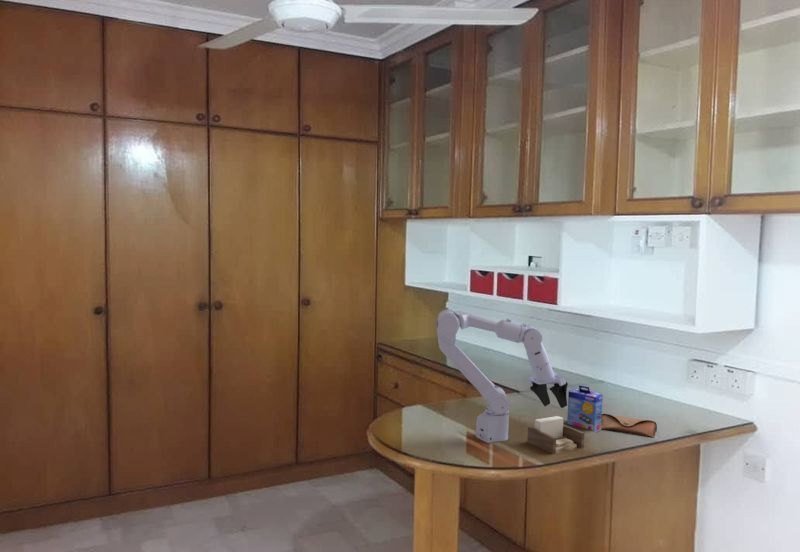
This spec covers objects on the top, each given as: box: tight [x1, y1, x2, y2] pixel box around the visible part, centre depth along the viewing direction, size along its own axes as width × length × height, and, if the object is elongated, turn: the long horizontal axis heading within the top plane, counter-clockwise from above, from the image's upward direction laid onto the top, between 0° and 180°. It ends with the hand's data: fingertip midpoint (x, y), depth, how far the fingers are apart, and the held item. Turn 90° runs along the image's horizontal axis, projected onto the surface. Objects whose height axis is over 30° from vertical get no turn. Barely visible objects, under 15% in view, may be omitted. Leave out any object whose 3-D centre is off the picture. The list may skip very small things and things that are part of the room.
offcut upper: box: [556, 438, 573, 447], centre depth 187 cm, size 6×3×1 cm, turn 119°
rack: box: [526, 423, 585, 455], centre depth 189 cm, size 12×11×6 cm
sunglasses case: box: [600, 413, 658, 439], centre depth 208 cm, size 18×7×7 cm, turn 66°
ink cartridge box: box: [566, 385, 604, 433], centre depth 208 cm, size 10×6×14 cm, turn 49°
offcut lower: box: [556, 443, 577, 452], centre depth 187 cm, size 8×4×1 cm, turn 119°
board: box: [534, 415, 564, 438], centre depth 191 cm, size 9×2×7 cm, turn 119°
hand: (555, 405), depth 193 cm, fingers open, 7 cm apart
